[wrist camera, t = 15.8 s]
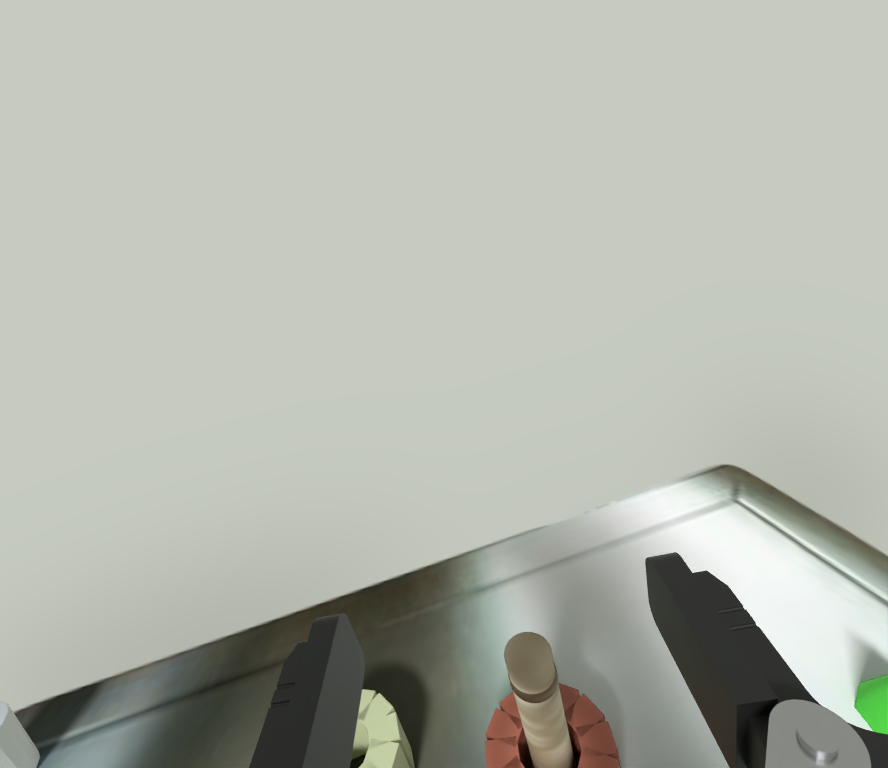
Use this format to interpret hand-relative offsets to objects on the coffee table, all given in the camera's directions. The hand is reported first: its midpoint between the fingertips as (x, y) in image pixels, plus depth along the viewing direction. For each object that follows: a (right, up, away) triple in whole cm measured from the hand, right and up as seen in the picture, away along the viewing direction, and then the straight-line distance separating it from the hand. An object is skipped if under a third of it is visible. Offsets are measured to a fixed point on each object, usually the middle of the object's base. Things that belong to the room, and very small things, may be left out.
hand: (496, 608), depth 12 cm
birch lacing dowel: (+7, -25, +22) cm, 34 cm away
